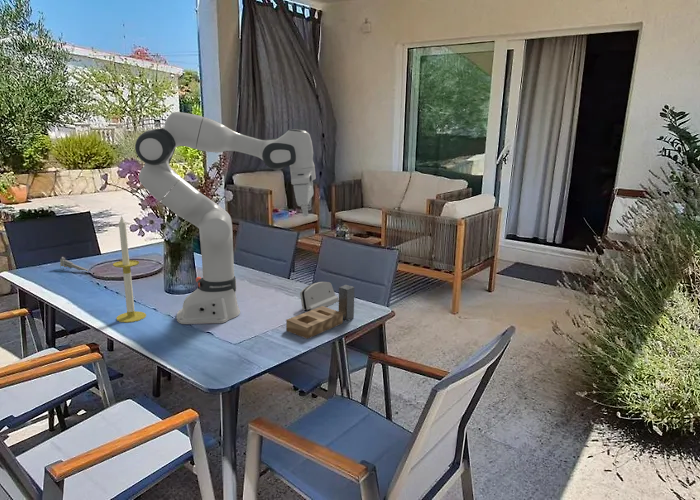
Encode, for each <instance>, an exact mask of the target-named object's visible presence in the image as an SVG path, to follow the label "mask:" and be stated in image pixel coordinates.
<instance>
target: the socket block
mask: <svg viewBox="0 0 700 500" xmlns="http://www.w3.org/2000/svg"><path fill="white" fill-rule="evenodd" d="M285 321H286V331H287V332H288V333H291V334H294V335H296V336H299V337H301V338H303V339H306V340H307V339H311V338H313V337H315V336H317V335H319V334H321V333H324V332H327V331H329V330H331V329H333V328H335V327H337V326H339V325H342V324H344V323H343V321H344V320H343V313H342V312H339V310H335V309H332V308H330V307H328V306H327V307H324V306H321V307H319V308H316V309H313V310H311V309H310V310H309V311H306V312H303V313H300V314H298V315H295V316H293V317H291V318H288V319H285Z"/></svg>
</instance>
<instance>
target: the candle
mask: <svg viewBox="0 0 700 500" xmlns="http://www.w3.org/2000/svg"><path fill="white" fill-rule="evenodd" d="M120 216H121V217H120V221H119V222H118V229H119V238H120V239H119V241H120V248H121V258H122V260H119V261H116V262H114V263H113V264H112V266H113V267H114V268H120V269H121V268H122V275H123V285H124V296H125V304H126V305H125V306H126V312H124V313H121V314H119V315H117V316H116V319H117V320H116V319H115V320H116V321H117V322H118V321H119V322H118V323H123V322H124V323H127V324H128V323H135V321H136V322H139V321H142V320H143V319H145V318H146V317H147V314H146V312H143V311H135V300H134V291H133V290H134V289H133V281H132V271H131V268H132V267H135V266H138V265H140V262H139V260H136V259H130V256H129V246H128V245H129V244H128V236H127V234H128V233H127V232H128V231H127V223H126V221H125V220H124V219H123V216H122V215H120ZM141 319H142V320H141ZM124 323H123V324H124Z"/></svg>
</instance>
